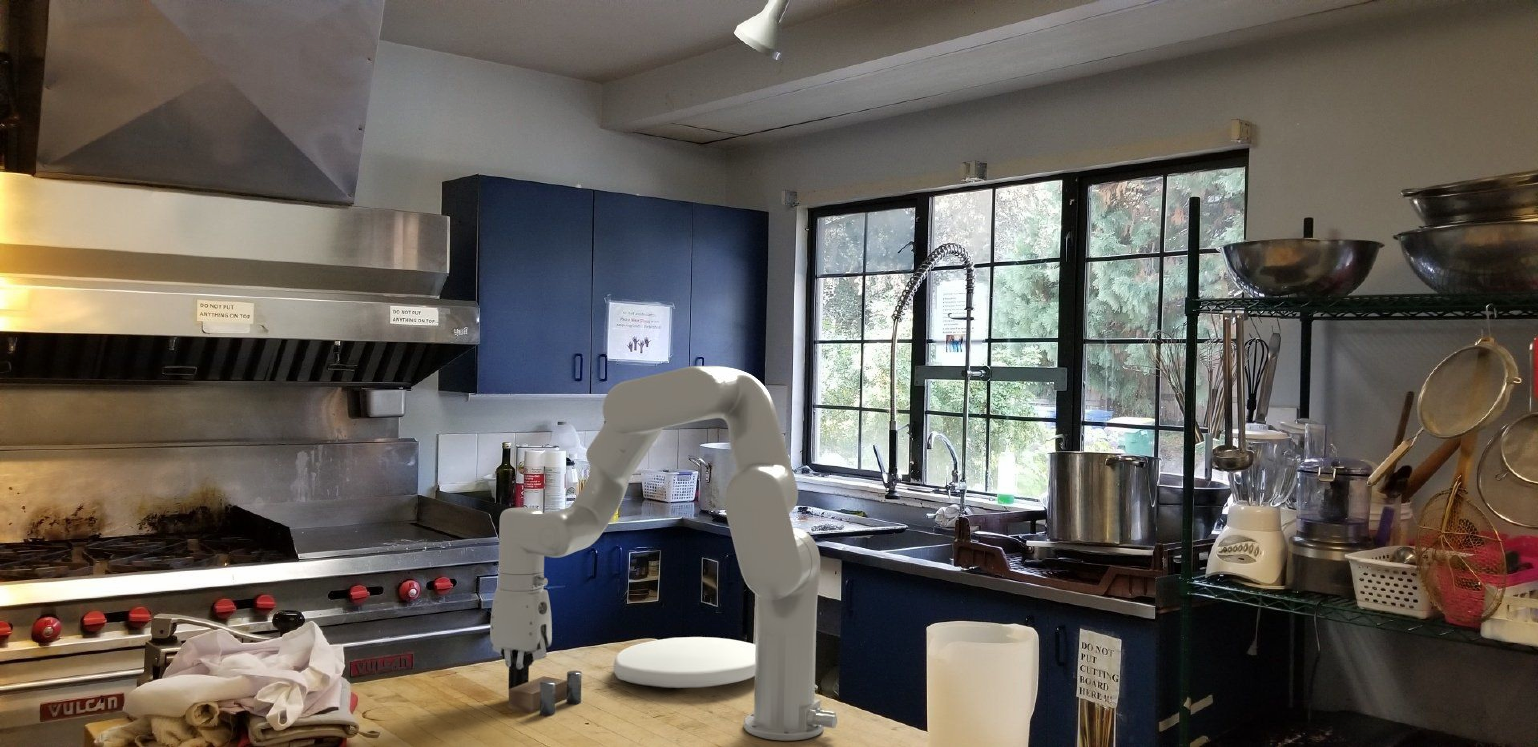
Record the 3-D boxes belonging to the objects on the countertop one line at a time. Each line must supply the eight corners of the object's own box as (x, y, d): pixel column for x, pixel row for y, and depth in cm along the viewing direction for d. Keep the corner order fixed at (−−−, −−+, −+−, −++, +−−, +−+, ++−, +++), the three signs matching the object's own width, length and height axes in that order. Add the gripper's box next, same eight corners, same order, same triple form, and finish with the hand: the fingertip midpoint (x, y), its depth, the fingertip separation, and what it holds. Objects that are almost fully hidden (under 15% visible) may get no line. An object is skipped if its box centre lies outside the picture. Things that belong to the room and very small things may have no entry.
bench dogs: (583, 701, 185) (584, 671, 185) (548, 716, 177) (549, 685, 177) (572, 699, 186) (572, 669, 186) (536, 714, 178) (537, 683, 178)
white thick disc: (590, 664, 191) (641, 630, 217) (593, 701, 191) (643, 663, 217) (746, 659, 185) (778, 625, 211) (749, 697, 185) (781, 658, 211)
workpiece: (566, 700, 186) (567, 680, 186) (532, 715, 178) (532, 693, 178) (543, 696, 189) (543, 675, 189) (508, 710, 181) (508, 689, 181)
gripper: (570, 582, 185) (567, 691, 185) (501, 573, 192) (499, 677, 192) (541, 590, 178) (539, 702, 179) (471, 580, 185) (469, 688, 185)
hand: (518, 689), depth 185 cm, fingers closed
